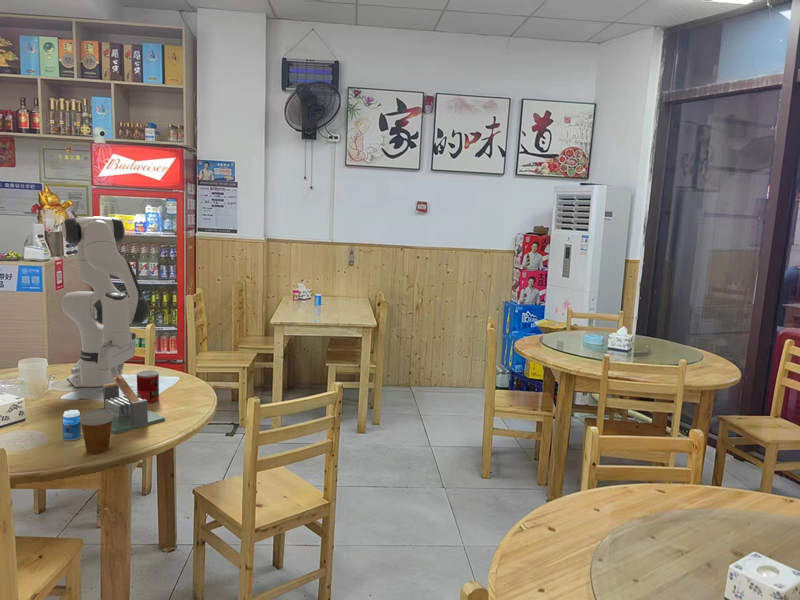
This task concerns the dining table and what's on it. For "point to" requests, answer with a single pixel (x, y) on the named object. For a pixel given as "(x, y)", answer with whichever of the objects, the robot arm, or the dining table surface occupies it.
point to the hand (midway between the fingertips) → (117, 375)
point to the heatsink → (119, 408)
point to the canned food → (148, 386)
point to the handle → (125, 388)
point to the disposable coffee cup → (96, 430)
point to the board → (128, 423)
